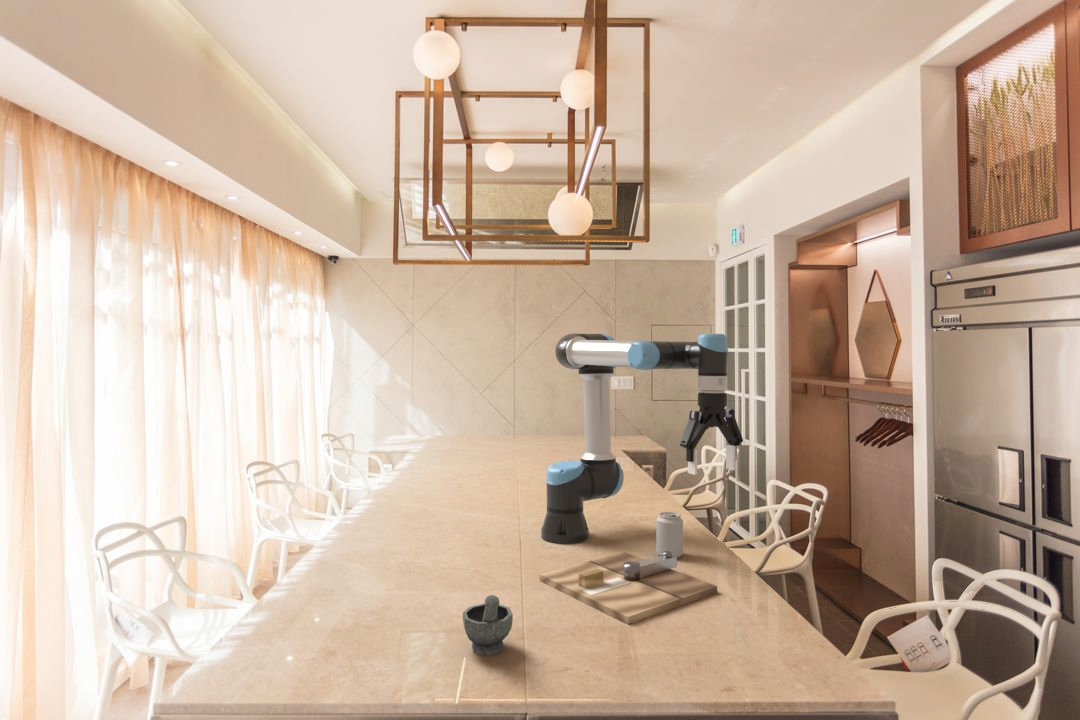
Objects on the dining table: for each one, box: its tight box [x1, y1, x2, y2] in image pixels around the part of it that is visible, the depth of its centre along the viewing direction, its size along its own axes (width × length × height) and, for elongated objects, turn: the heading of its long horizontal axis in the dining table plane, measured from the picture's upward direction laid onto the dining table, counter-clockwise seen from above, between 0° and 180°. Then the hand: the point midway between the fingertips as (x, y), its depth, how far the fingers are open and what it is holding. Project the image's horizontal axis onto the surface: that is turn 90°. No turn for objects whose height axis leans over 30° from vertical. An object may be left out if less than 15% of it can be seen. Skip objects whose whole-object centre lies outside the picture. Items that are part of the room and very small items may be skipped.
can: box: [655, 511, 684, 559], centre depth 178 cm, size 8×8×12 cm
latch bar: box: [624, 551, 678, 581], centre depth 159 cm, size 17×4×4 cm, turn 126°
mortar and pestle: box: [462, 594, 514, 656], centre depth 121 cm, size 11×9×12 cm
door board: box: [539, 551, 718, 625], centre depth 154 cm, size 32×30×5 cm
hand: (712, 471), depth 164 cm, fingers open, 13 cm apart
